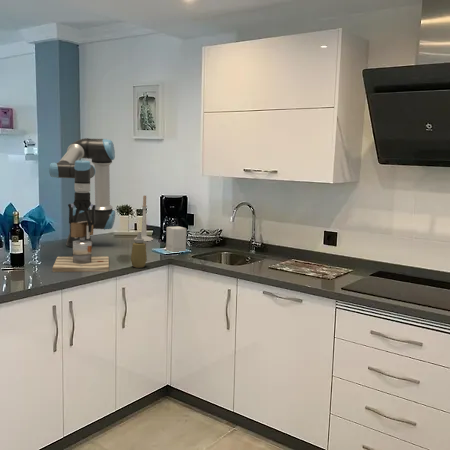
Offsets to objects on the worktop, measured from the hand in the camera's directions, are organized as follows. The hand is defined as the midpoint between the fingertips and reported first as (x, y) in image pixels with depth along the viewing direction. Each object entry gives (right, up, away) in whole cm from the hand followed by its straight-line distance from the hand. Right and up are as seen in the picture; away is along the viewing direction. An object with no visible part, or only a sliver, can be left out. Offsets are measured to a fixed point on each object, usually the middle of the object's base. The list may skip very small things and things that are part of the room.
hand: (82, 238), depth 257 cm
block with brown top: (0, -8, +1) cm, 8 cm away
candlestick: (+18, -4, +83) cm, 85 cm away
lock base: (-1, -14, +2) cm, 14 cm away
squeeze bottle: (+27, -15, +6) cm, 32 cm away
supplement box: (+43, -10, +47) cm, 64 cm away
